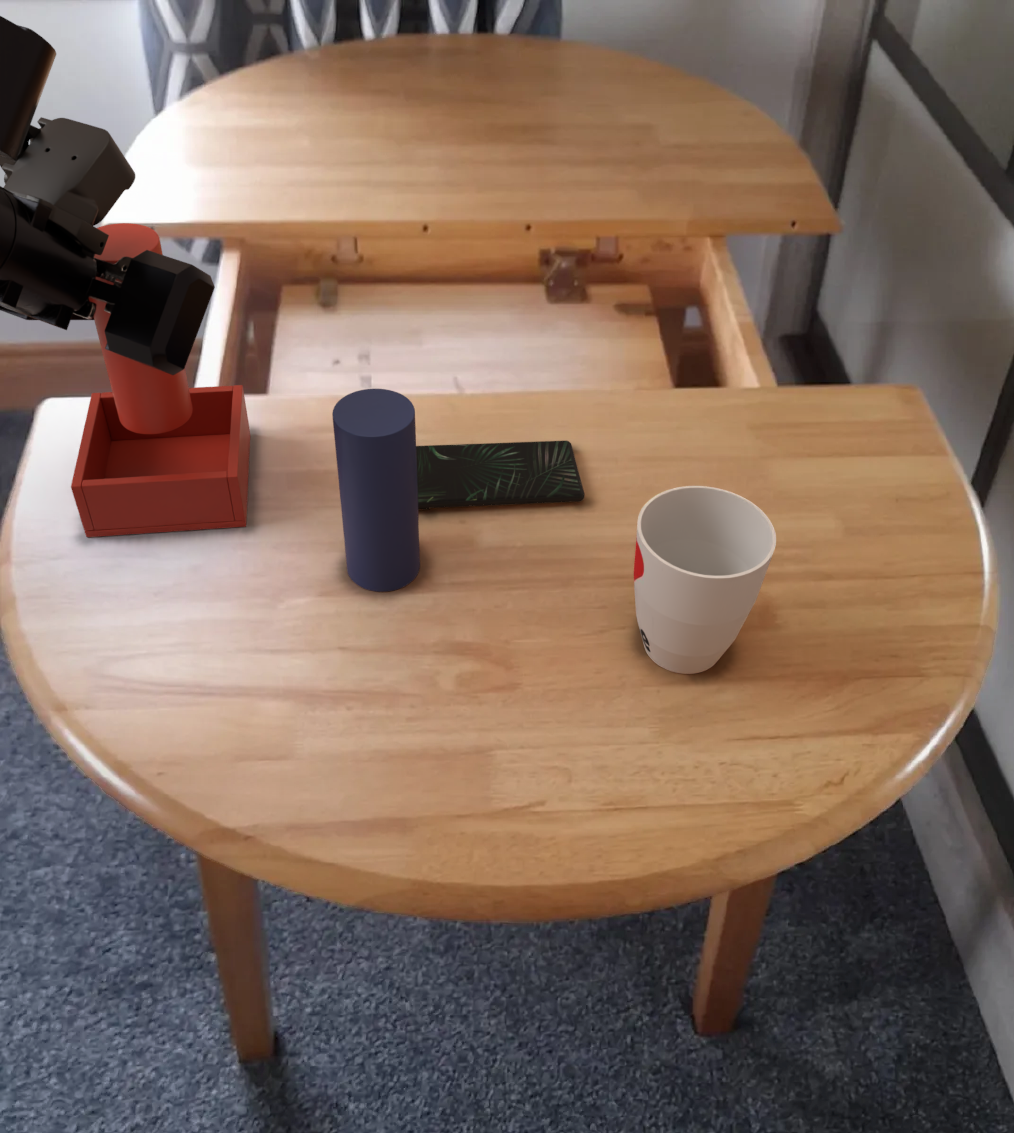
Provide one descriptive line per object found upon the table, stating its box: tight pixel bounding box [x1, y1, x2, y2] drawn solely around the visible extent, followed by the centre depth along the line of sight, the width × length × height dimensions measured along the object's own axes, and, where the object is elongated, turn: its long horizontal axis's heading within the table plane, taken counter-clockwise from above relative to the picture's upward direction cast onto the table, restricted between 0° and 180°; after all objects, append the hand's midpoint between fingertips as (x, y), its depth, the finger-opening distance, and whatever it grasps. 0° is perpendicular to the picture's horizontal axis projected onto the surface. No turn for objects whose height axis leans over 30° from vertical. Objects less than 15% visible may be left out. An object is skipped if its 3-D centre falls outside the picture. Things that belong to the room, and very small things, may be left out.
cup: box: [633, 485, 777, 675], centre depth 69 cm, size 8×8×10 cm
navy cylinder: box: [332, 388, 421, 593], centre depth 72 cm, size 5×5×13 cm
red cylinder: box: [89, 222, 193, 434], centre depth 74 cm, size 5×5×13 cm
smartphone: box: [416, 440, 585, 511], centre depth 83 cm, size 7×1×15 cm
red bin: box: [70, 384, 251, 538], centre depth 81 cm, size 11×11×5 cm
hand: (152, 322), depth 75 cm, fingers closed on red cylinder, 5 cm apart
